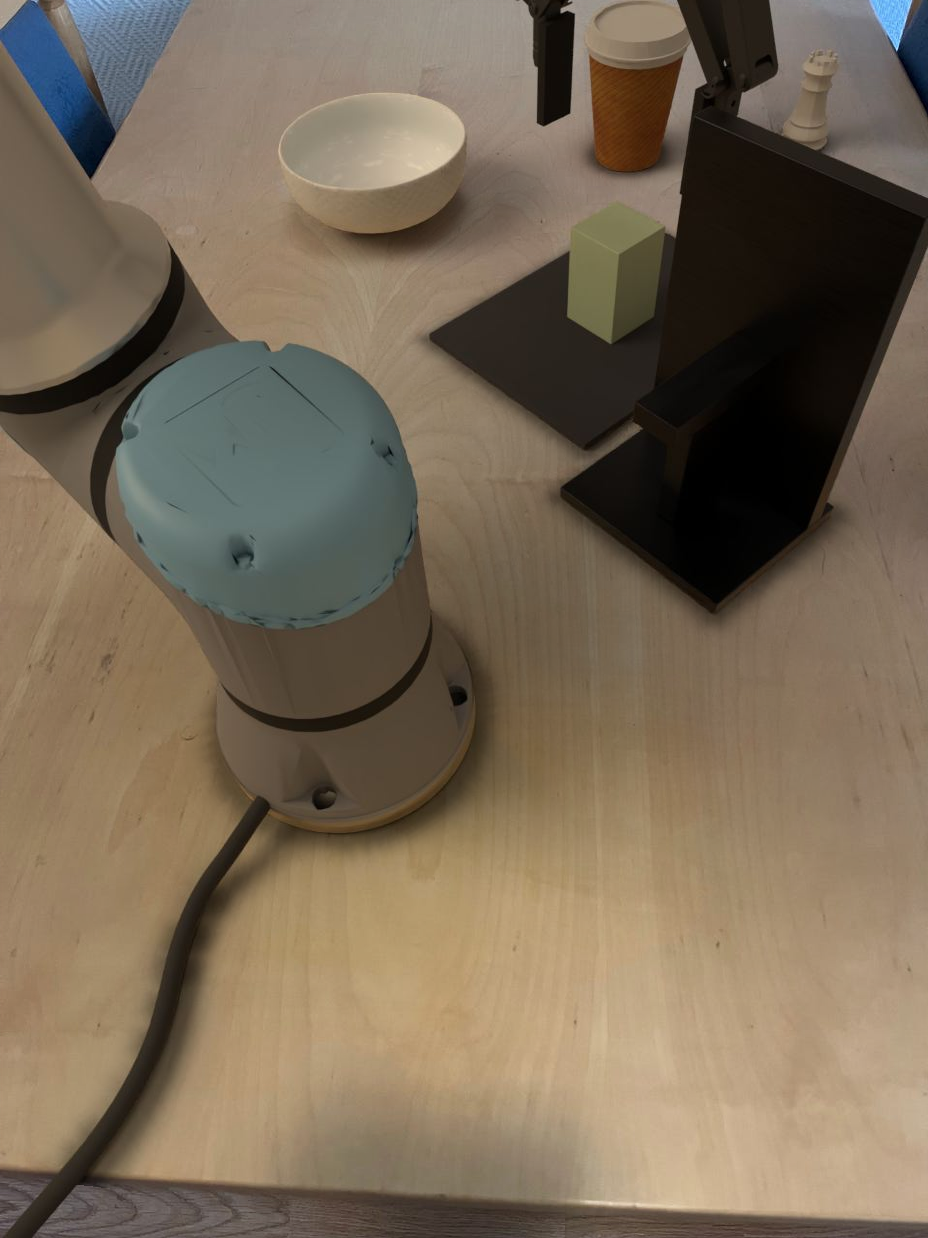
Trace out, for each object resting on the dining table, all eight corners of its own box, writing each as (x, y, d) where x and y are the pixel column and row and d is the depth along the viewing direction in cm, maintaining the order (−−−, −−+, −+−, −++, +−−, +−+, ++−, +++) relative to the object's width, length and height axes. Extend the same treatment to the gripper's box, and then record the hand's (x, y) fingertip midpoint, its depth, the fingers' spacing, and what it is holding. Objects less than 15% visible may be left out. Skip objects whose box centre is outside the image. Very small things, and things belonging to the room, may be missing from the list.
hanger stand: (713, 614, 57) (803, 304, 39) (559, 496, 64) (571, 182, 45) (830, 516, 61) (963, 191, 43) (674, 414, 68) (729, 94, 49)
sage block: (611, 344, 72) (619, 254, 66) (566, 316, 74) (570, 226, 68) (654, 316, 74) (666, 225, 67) (609, 290, 76) (617, 199, 70)
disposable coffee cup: (672, 183, 86) (691, 45, 76) (572, 178, 87) (578, 42, 78) (679, 132, 91) (697, -3, 81) (585, 128, 93) (591, -5, 83)
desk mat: (584, 450, 66) (584, 444, 66) (429, 339, 75) (428, 333, 74) (791, 305, 74) (793, 299, 74) (630, 220, 83) (631, 213, 82)
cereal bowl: (353, 286, 80) (339, 210, 74) (262, 207, 88) (244, 134, 82) (506, 213, 85) (504, 137, 79) (407, 145, 93) (398, 72, 87)
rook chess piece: (827, 156, 87) (851, 67, 80) (779, 155, 88) (799, 66, 81) (824, 132, 90) (847, 44, 83) (777, 131, 90) (796, 43, 84)
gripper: (924, -250, 41) (804, 198, 58) (544, -314, 53) (537, 75, 70) (822, -213, 38) (727, 245, 56) (445, -288, 50) (464, 110, 67)
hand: (621, 151), depth 63 cm, fingers open, 13 cm apart
